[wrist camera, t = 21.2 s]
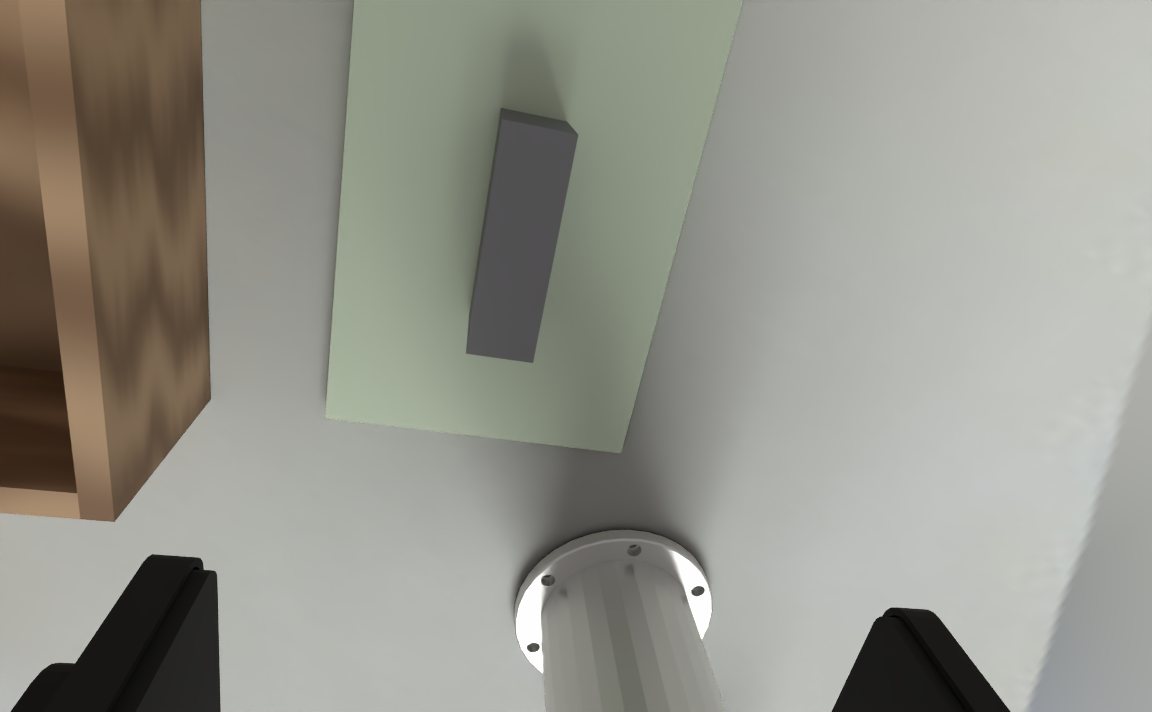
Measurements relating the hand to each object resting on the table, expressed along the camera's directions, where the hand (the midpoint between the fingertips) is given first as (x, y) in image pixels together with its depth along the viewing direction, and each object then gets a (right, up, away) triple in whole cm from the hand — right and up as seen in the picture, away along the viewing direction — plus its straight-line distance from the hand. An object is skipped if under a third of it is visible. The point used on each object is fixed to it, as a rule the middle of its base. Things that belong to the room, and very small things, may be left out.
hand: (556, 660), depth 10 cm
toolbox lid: (-3, +11, +24) cm, 27 cm away
